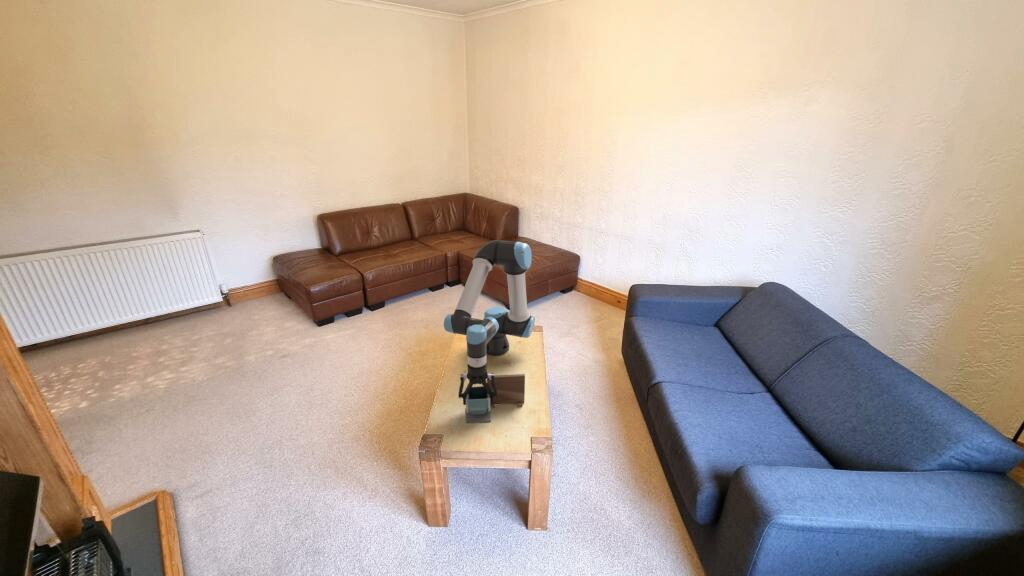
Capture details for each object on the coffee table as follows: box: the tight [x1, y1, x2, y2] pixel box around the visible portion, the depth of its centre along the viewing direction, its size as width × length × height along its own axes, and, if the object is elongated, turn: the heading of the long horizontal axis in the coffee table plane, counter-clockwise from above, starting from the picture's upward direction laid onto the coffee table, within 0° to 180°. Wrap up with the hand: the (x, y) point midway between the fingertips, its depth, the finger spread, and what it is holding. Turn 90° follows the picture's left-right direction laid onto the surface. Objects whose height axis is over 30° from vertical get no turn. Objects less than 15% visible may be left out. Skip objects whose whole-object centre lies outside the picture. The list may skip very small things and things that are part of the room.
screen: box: [486, 373, 526, 409], centre depth 170 cm, size 6×16×14 cm, turn 95°
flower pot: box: [467, 385, 489, 414], centre depth 163 cm, size 9×9×9 cm
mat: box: [465, 409, 492, 424], centre depth 165 cm, size 10×10×1 cm
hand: (478, 409), depth 164 cm, fingers closed on flower pot, 8 cm apart
